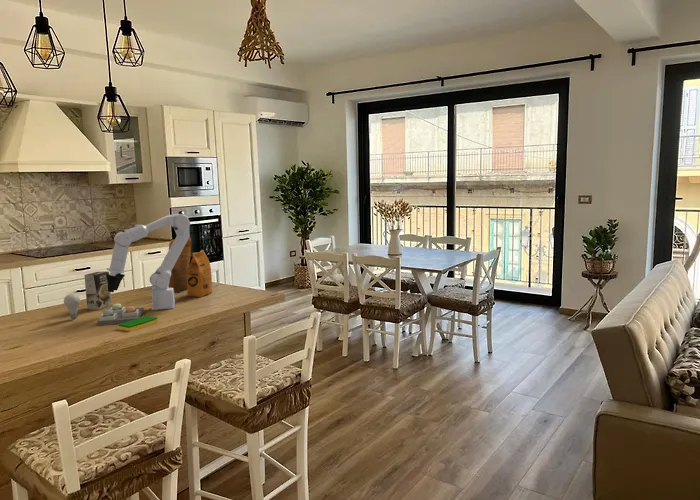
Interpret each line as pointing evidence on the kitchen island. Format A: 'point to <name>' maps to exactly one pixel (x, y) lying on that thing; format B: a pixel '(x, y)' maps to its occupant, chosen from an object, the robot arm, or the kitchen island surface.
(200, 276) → the coffee package
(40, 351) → the kitchen island surface
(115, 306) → the sage button
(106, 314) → the slate button
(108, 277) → the robot arm
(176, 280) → the pancake mix bag
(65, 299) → the lightbulb
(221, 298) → the kitchen island surface
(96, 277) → the coffee box
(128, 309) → the terracotta button
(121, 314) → the button panel
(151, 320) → the dish sponge
